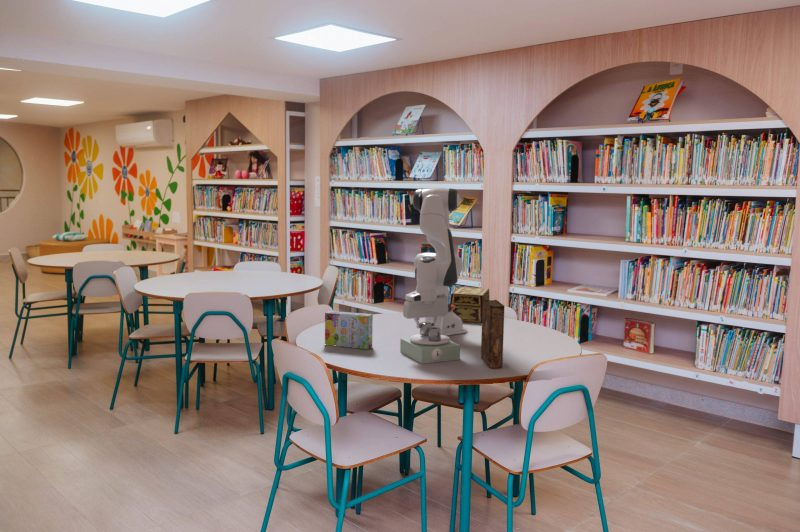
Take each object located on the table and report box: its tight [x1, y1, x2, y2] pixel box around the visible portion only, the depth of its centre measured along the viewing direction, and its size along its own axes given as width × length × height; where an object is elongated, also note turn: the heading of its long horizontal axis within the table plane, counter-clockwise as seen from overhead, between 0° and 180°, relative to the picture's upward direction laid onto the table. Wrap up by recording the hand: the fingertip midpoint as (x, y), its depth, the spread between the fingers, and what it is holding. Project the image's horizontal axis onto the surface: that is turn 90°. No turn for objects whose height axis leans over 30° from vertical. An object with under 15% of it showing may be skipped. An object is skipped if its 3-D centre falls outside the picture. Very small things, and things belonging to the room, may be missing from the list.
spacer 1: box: [419, 321, 432, 336], centre depth 273 cm, size 5×5×5 cm
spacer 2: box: [429, 327, 441, 342], centre depth 266 cm, size 5×5×5 cm
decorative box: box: [449, 286, 491, 324], centre depth 352 cm, size 28×19×15 cm
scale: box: [399, 333, 461, 364], centre depth 270 cm, size 18×21×8 cm
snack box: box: [324, 310, 374, 350], centre depth 284 cm, size 21×6×15 cm, turn 71°
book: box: [480, 299, 505, 370], centre depth 259 cm, size 16×6×25 cm, turn 5°
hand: (425, 327), depth 273 cm, fingers closed on spacer 1, 5 cm apart
